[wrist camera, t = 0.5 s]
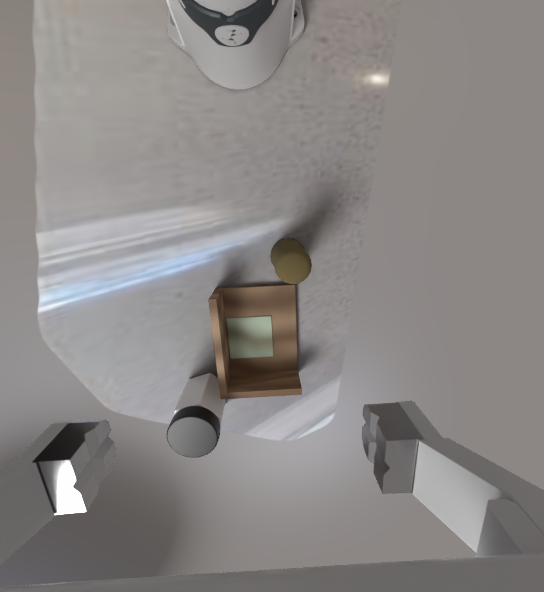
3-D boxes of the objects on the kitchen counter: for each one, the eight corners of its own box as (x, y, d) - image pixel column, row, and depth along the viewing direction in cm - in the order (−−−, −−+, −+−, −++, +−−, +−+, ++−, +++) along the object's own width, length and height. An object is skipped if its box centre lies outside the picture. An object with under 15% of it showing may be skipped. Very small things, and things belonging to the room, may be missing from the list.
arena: (215, 288, 51) (208, 299, 44) (294, 283, 51) (299, 294, 44) (225, 377, 56) (220, 399, 49) (297, 373, 56) (301, 394, 49)
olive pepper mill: (310, 244, 49) (322, 253, 38) (299, 277, 50) (308, 294, 40) (276, 233, 48) (279, 239, 38) (266, 267, 50) (266, 282, 39)
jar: (193, 414, 58) (176, 464, 47) (177, 381, 56) (155, 425, 44) (235, 402, 58) (228, 450, 46) (221, 368, 55) (209, 409, 44)
